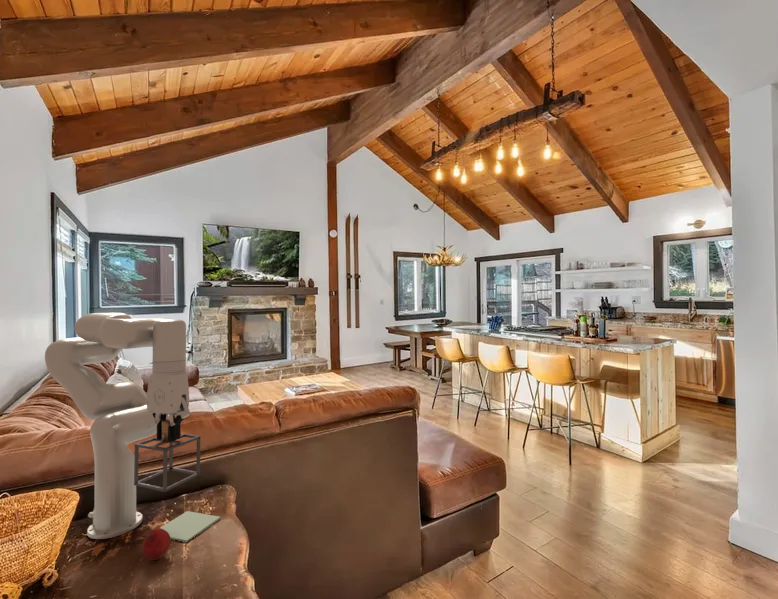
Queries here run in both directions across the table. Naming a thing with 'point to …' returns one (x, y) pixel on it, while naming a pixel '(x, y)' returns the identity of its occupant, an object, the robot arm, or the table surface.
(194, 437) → the dark grey metal frame
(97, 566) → the table surface
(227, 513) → the table surface
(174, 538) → the mat
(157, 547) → the onion
